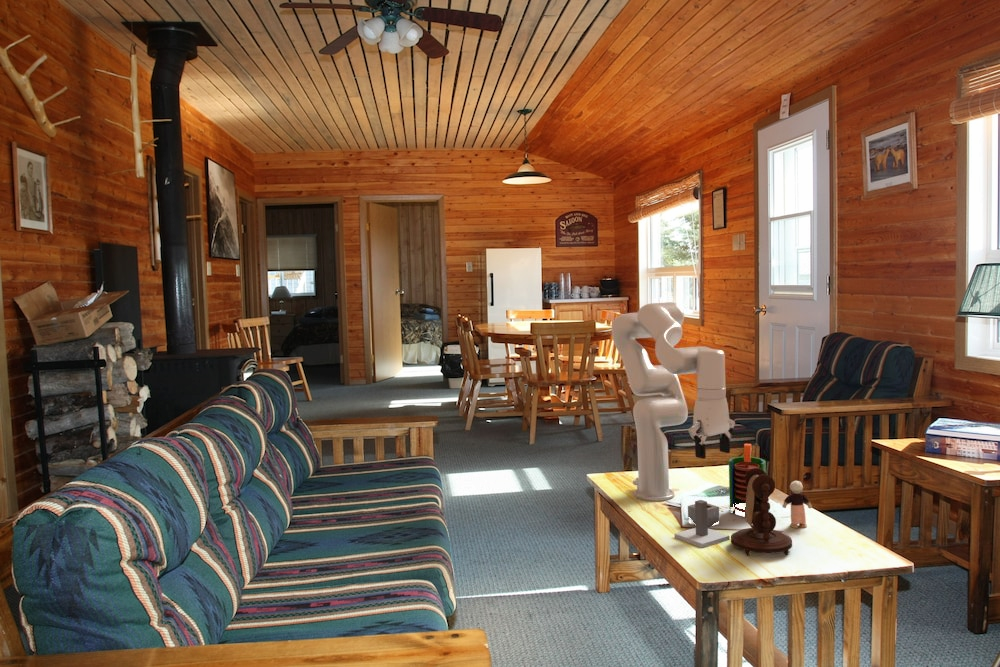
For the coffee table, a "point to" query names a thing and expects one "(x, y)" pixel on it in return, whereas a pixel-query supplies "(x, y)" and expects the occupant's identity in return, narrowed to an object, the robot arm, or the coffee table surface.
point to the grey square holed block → (711, 514)
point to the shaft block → (701, 529)
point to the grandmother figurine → (797, 505)
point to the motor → (742, 475)
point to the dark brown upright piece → (760, 518)
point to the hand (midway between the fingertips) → (712, 454)
